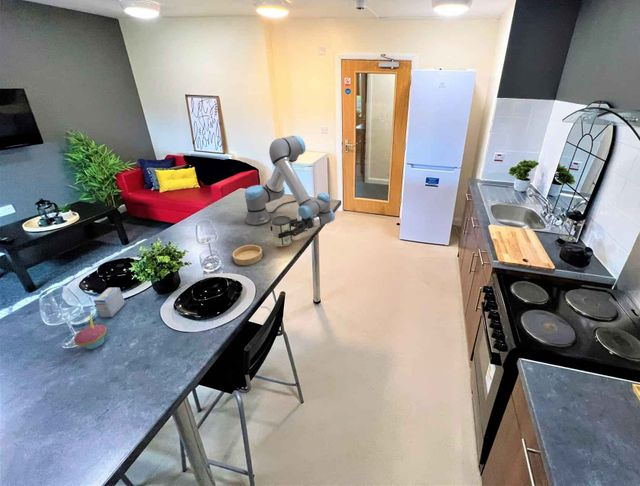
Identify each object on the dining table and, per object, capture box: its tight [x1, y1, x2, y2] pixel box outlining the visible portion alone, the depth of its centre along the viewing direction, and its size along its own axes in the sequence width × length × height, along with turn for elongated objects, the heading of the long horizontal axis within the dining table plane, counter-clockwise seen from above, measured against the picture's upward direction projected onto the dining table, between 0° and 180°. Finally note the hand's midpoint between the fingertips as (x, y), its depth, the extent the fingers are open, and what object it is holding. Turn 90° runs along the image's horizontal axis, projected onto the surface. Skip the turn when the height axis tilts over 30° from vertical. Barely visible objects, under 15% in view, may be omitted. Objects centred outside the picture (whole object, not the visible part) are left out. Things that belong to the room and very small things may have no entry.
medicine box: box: [93, 287, 126, 318], centre depth 116 cm, size 8×4×9 cm, turn 5°
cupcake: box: [73, 314, 108, 350], centre depth 101 cm, size 9×8×12 cm
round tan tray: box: [231, 244, 263, 266], centre depth 155 cm, size 15×15×4 cm
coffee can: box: [270, 215, 293, 247], centre depth 162 cm, size 10×10×14 cm
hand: (274, 232), depth 159 cm, fingers closed on coffee can, 10 cm apart
